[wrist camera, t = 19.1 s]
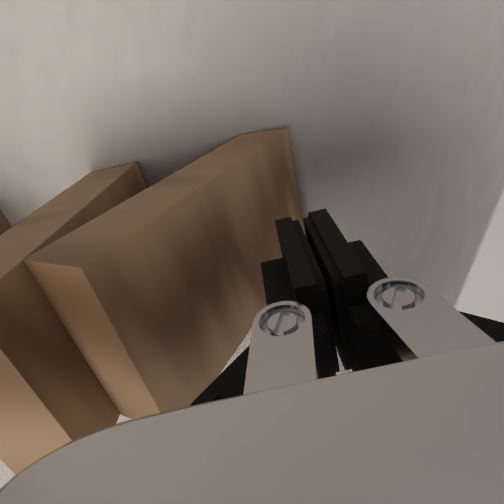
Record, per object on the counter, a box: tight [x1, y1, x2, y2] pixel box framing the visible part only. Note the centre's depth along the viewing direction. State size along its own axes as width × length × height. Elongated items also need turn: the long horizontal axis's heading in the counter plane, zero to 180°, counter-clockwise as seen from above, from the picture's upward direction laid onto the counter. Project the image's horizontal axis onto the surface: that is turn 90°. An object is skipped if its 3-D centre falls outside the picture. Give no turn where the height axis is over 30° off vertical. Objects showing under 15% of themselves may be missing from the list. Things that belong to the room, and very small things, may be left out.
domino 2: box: [23, 128, 306, 419], centre depth 13 cm, size 6×2×11 cm, turn 13°
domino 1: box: [0, 162, 147, 475], centre depth 14 cm, size 6×2×11 cm, turn 13°
